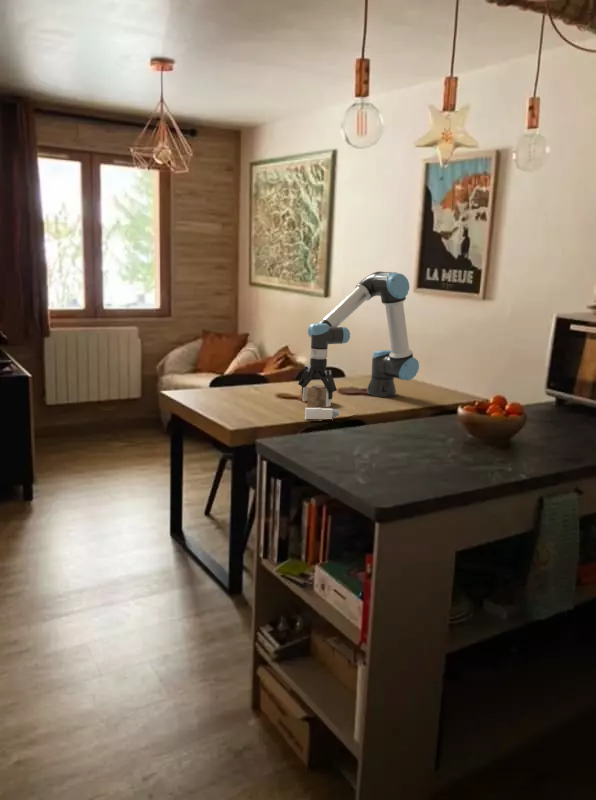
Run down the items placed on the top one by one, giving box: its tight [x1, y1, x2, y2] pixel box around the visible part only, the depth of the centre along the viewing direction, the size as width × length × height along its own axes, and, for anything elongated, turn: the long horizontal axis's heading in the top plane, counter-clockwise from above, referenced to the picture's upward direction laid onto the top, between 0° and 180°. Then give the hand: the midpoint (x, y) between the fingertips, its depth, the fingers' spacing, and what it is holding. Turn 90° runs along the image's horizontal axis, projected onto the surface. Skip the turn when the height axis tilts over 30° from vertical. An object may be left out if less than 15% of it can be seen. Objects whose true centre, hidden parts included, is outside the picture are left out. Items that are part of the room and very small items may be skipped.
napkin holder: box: [304, 407, 334, 420], centre depth 294 cm, size 15×11×6 cm
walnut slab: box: [306, 384, 326, 408], centre depth 310 cm, size 9×4×11 cm, turn 141°
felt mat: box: [332, 408, 341, 417], centre depth 305 cm, size 14×16×1 cm
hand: (316, 403), depth 311 cm, fingers open, 13 cm apart
